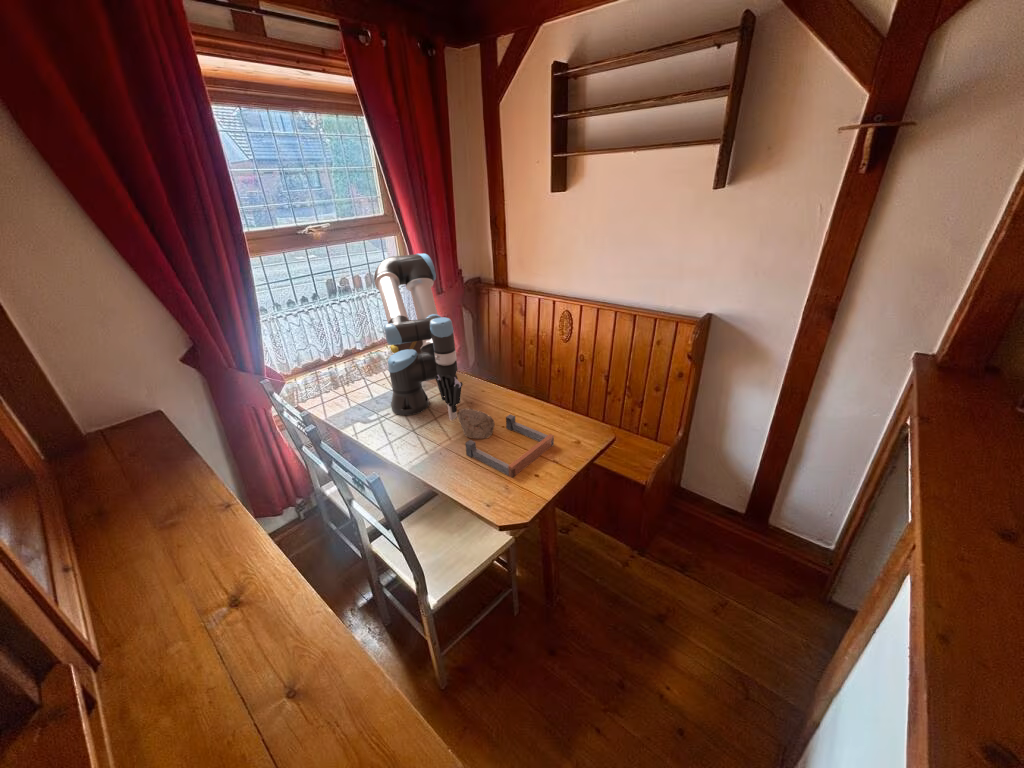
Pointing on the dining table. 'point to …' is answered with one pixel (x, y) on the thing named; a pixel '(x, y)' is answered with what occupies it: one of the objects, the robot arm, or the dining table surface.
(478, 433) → the rock
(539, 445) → the frame
